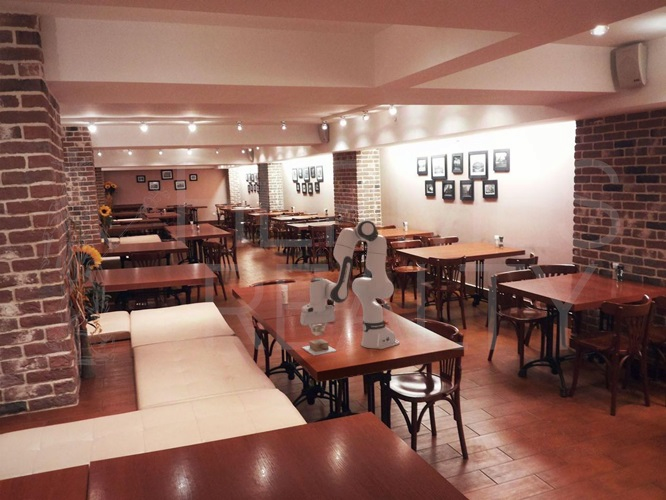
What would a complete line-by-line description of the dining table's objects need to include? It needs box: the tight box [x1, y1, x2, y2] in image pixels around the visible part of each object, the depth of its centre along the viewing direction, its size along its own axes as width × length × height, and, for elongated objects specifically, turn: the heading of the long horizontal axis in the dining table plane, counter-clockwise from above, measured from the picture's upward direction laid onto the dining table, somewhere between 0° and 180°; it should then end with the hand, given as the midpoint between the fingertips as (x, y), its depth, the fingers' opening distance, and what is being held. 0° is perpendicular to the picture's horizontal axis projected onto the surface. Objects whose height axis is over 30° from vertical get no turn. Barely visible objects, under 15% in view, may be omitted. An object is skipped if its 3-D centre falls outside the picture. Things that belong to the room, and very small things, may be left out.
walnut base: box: [308, 338, 329, 352], centre depth 298 cm, size 8×8×4 cm
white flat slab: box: [301, 345, 338, 357], centre depth 298 cm, size 14×16×1 cm
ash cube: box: [311, 323, 325, 337], centre depth 297 cm, size 5×5×5 cm
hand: (318, 331), depth 297 cm, fingers closed on ash cube, 5 cm apart
